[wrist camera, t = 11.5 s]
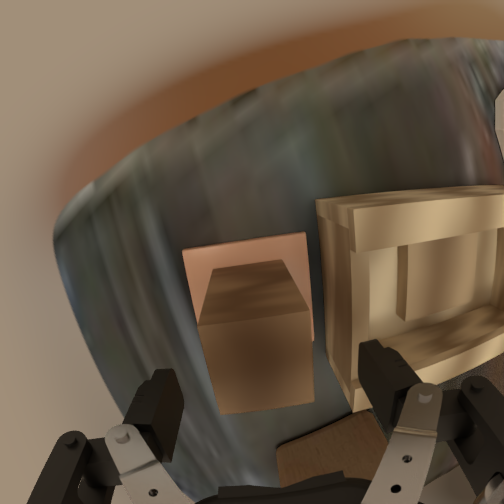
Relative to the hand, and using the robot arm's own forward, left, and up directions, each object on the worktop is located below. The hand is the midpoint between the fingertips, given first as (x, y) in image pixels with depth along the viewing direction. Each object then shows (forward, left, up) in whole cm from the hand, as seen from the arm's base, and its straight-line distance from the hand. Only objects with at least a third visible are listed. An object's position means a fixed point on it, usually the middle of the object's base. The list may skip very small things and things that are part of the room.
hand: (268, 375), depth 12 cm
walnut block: (0, 0, -8) cm, 8 cm away
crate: (-14, 0, -9) cm, 16 cm away
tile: (0, 0, -9) cm, 9 cm away
